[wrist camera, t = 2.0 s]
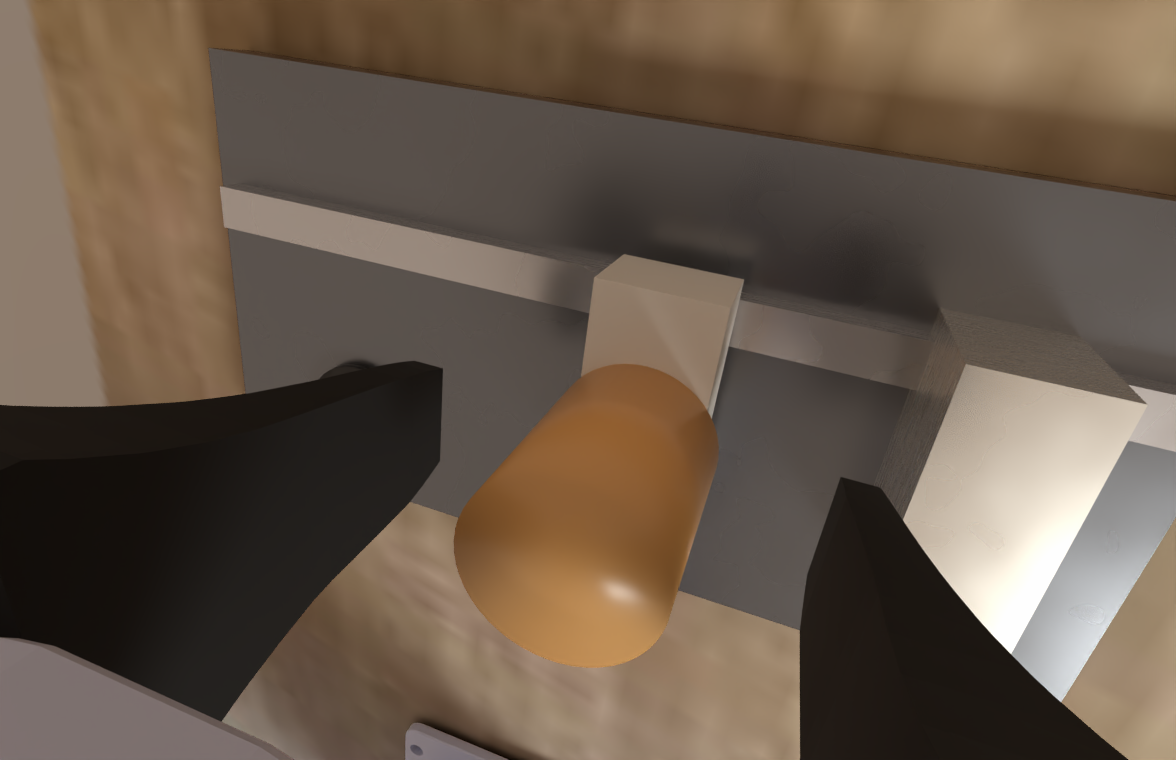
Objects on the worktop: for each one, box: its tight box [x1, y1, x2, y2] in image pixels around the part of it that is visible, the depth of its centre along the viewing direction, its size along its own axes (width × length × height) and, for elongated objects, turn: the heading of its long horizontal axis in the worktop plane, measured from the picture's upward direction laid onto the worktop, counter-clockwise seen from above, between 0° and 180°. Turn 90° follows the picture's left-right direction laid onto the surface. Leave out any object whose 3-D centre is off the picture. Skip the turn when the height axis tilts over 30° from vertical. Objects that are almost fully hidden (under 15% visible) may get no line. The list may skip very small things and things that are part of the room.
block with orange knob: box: [454, 254, 744, 668], centre depth 12 cm, size 7×3×6 cm, turn 173°
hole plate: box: [208, 48, 1176, 702], centre depth 15 cm, size 11×22×4 cm, turn 83°
